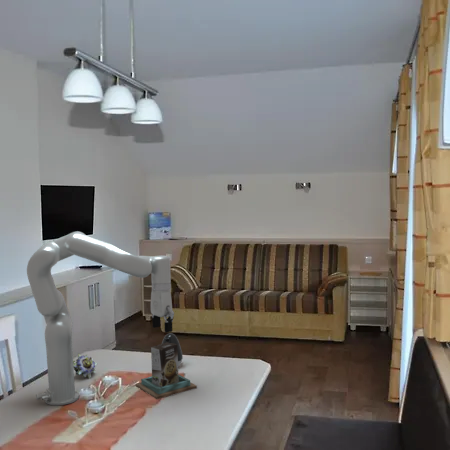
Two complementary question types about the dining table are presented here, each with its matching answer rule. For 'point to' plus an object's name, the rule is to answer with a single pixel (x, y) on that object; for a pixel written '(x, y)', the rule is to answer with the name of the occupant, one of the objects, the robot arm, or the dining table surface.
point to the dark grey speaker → (173, 339)
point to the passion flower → (84, 366)
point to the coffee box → (164, 364)
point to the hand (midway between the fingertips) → (162, 329)
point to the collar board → (165, 387)
